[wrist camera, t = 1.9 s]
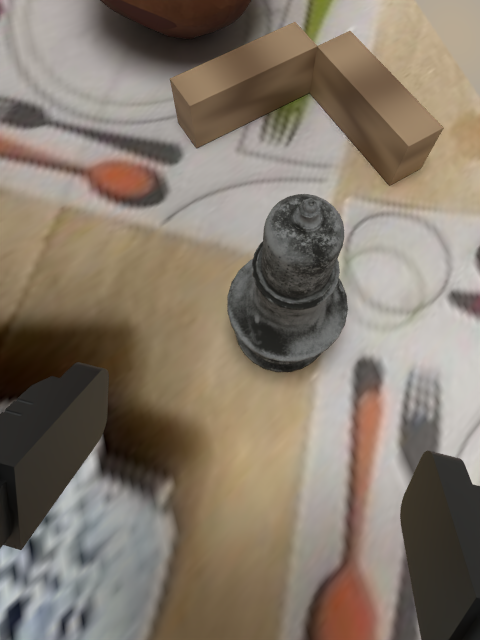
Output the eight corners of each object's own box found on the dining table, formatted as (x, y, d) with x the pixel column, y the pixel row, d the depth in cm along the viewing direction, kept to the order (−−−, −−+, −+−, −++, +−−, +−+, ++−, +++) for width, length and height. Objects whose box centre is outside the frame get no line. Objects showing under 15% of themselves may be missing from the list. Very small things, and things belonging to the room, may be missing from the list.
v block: (417, 191, 28) (440, 152, 24) (170, 143, 29) (161, 100, 26) (430, 94, 30) (453, 47, 27) (203, 54, 32) (198, 6, 29)
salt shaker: (322, 272, 26) (381, 115, 15) (344, 369, 24) (431, 274, 13) (223, 285, 26) (205, 136, 14) (237, 384, 24) (229, 300, 13)
